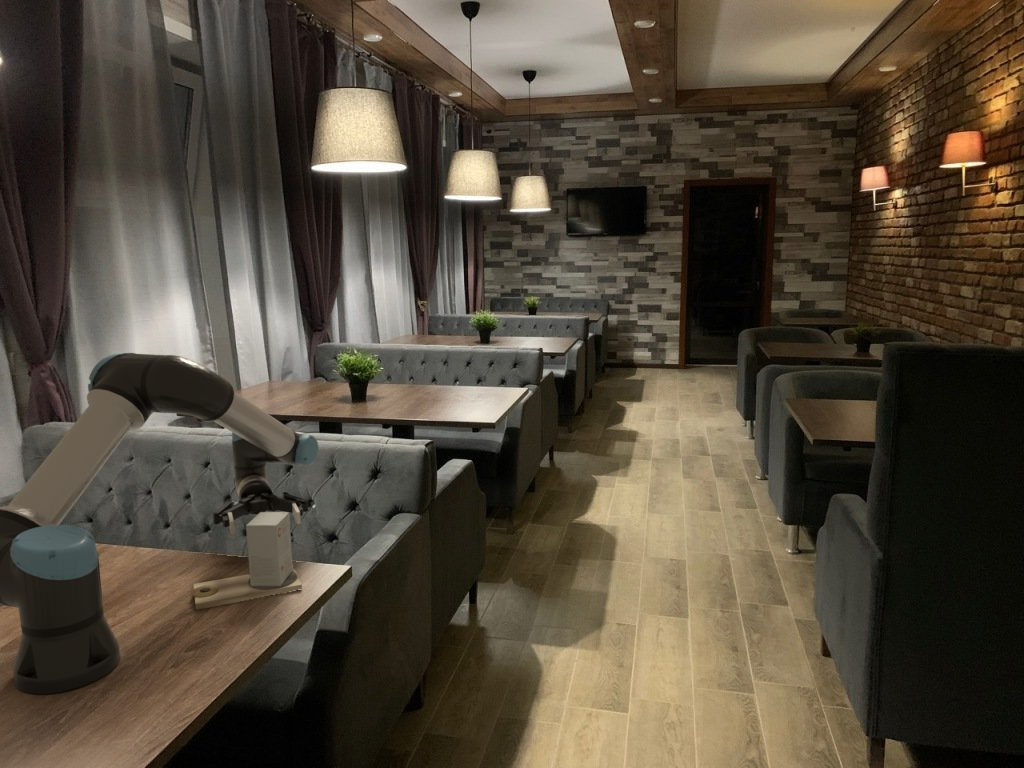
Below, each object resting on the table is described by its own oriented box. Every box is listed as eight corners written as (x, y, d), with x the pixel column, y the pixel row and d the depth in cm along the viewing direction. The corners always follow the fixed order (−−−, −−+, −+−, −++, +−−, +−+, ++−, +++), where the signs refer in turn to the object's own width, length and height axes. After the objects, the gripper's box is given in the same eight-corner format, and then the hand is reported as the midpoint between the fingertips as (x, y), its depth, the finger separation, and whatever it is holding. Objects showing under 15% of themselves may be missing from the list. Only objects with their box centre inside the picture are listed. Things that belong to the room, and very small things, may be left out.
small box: (264, 570, 161) (260, 511, 159) (293, 570, 161) (290, 511, 158) (249, 586, 153) (245, 525, 151) (280, 587, 153) (276, 525, 150)
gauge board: (302, 590, 155) (301, 582, 154) (193, 610, 146) (192, 602, 146) (294, 571, 164) (293, 564, 163) (191, 589, 155) (190, 582, 155)
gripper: (309, 502, 188) (325, 530, 169) (200, 517, 178) (205, 549, 159) (307, 473, 186) (324, 497, 167) (198, 486, 176) (202, 514, 157)
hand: (266, 522), depth 163 cm, fingers open, 13 cm apart
